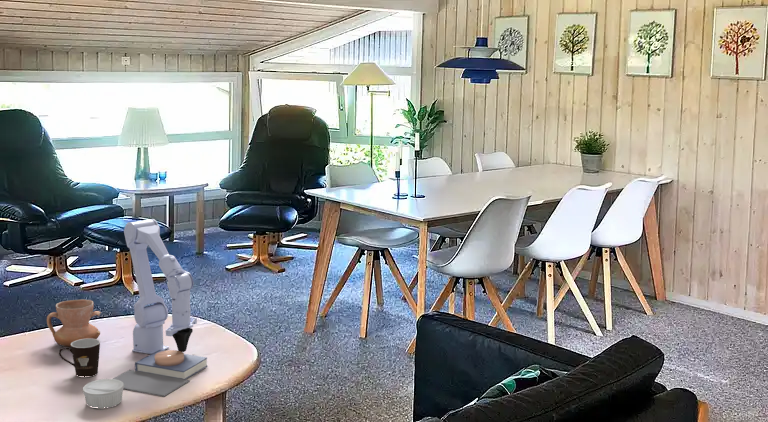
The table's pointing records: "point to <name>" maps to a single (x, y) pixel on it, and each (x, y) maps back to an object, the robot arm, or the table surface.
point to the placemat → (150, 382)
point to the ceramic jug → (74, 321)
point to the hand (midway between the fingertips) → (182, 351)
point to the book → (181, 371)
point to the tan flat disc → (169, 358)
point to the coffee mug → (84, 356)
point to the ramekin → (103, 393)
